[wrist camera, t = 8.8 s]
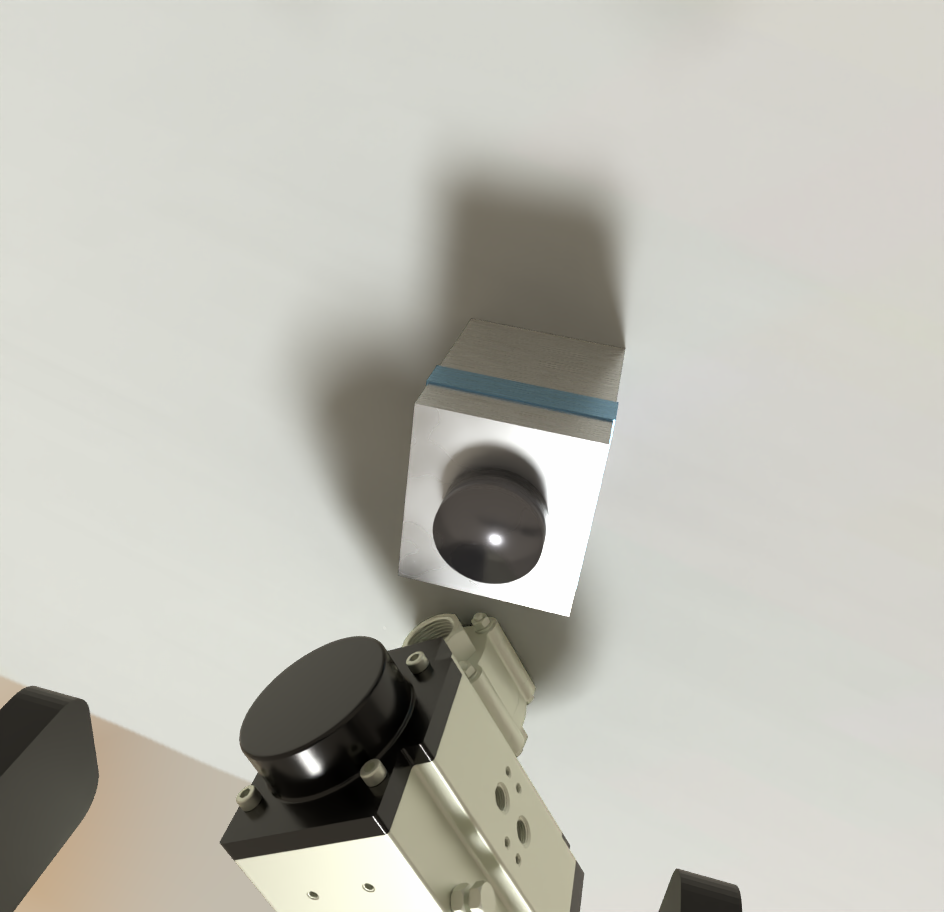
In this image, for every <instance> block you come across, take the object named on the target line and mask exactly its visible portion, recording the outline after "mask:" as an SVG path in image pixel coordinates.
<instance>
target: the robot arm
mask: <svg viewBox="0 0 944 912" xmlns="http://www.w3.org/2000/svg"><path fill="white" fill-rule="evenodd" d="M98 778H99V773H98V765H97V758H96V751H95V745H94V738H93V731H92V725H91V718H90V711H89V707H88V704H87V703H86V702H85V701H84V700H82V699H79V698H76V697H72V696H69V695H65V694H61V693H58V692H54V691H51V690H47V689H44V688H40V687H36V686H29V687H26V688H24V689H22V690H21V691H19V692H18V693H17V694H16V695H14V696H13V697H12V698H11V699H10V700H9V701H8V702H7V703H6V704H5V705H4V706H3V707H2V708H1V709H0V912H13V911H14V910H15V909H16V907H17V906H18V905H19V903H20V902H21V901H22V900H23V898H24V897H25V896H26V894H27V893H28V892H29V890H30V889H31V887H32V886H33V885H34V884H35V882H36V881H37V880H38V878H39V877H40V876H41V874H42V873H43V872H44V870H45V869H46V868H47V866H48V865H49V864H50V862H51V861H52V860H53V858H54V857H55V856H56V854H57V853H58V852H59V850H60V849H61V848H62V847H63V845H64V844H65V842H66V841H67V840H68V838H69V837H70V836H71V834H72V833H73V832H74V831H75V829H76V828H77V827H78V825H79V824H80V823H81V821H82V820H83V818H84V817H85V815H86V813H87V812H88V810H89V808H90V806H91V804H92V801H93V799H94V796H95V793H96V789H97V785H98ZM659 912H742V902H741V895H740V891H739V888H738V886H737V885H734V884H731V883H727V882H723V881H720V880H716V879H713V878H709V877H706V876H702V875H698V874H695V873H691V872H688V871H684V870H681V869H676V870H675V871H674V873H673V875H672V877H671V880H670V883H669V885H668V888H667V891H666V893H665V896H664V899H663V901H662V904H661V907H660V909H659Z"/></svg>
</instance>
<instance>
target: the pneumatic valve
mask: <svg viewBox="0 0 944 912" xmlns="http://www.w3.org/2000/svg"><path fill="white" fill-rule="evenodd" d="M471 622H472V624H473V626H468V627H463V626H462V624H461V623H460V621H459V619H458V618H457V616H456V614H440V615H436V616H434V617H431V618H429V619H427V620H425V621H424V622H422V623H421V624H419V625H418V626H417V627H415V628H414V629H413V630H412V631H411V632H410V633H409V635H408V636H407V637H406V639H405V641H404V643H403V645H402V647H401V648H397V649H394V650H390V651H387V650H386V649H385V647H384V646H383V645H382V643H381V642H379V641H378V640H376V639H374V638H371V637H366V636H354V637H348V638H343V639H340V640H337V641H334V642H331V643H328V644H326V645H324V646H322V647H320V648H318V649H316V650H314V651H312V652H310V653H308V654H307V655H305V656H303V657H302V658H300V659H299V660H297V661H296V662H294V663H293V664H292V665H290V666H289V667H288V668H287V669H285V670H284V671H283V672H282V673H280V674H279V675H278V676H277V677H276V678H275V679H274V680H273V681H272V682H271V683H270V684H269V685H268V686H267V687H266V688H265V689H264V690H263V691H262V693H261V694H260V695H259V696H258V697H257V699H256V700H255V701H254V703H253V704H252V706H251V707H250V709H249V711H248V712H247V714H246V716H245V718H244V720H243V723H242V726H241V730H240V736H239V741H240V747H241V749H242V751H243V753H244V754H245V756H246V757H247V758H248V760H249V761H250V762H251V764H252V765H253V766H254V767H255V769H256V770H257V771H258V773H257V775H256V777H255V779H254V781H253V782H252V784H251V785H249V786H247V787H245V788H244V789H242V790H241V791H240V793H239V794H238V795H237V798H236V801H237V803H238V804H239V808H238V810H237V812H236V813H235V815H234V817H233V819H232V821H231V822H230V824H229V826H228V828H227V830H226V832H225V833H224V835H223V837H222V839H221V841H220V844H221V845H222V846H223V848H224V849H225V850H226V851H227V853H228V854H229V855H230V856H231V857H232V859H233V860H234V861H235V862H236V864H237V865H238V866H239V867H240V868H241V870H242V871H243V872H244V873H245V875H246V876H247V877H248V878H249V879H250V881H252V883H253V884H254V886H255V887H256V888H257V889H258V890H259V892H260V893H261V894H262V895H263V897H264V898H265V899H266V900H267V901H268V903H269V904H270V905H271V906H272V908H273V909H274V910H275V911H276V912H580V905H581V897H582V888H583V879H584V872H583V870H582V869H581V867H580V866H579V864H578V862H577V861H576V859H575V857H574V856H573V854H572V853H571V851H570V844H569V843H568V841H567V840H566V838H565V836H564V835H563V833H562V831H561V830H560V828H559V827H558V825H557V823H556V822H555V820H554V818H553V817H552V815H551V813H550V812H549V810H548V809H547V807H546V805H545V804H544V802H543V800H542V799H541V797H540V795H539V794H538V792H537V791H536V789H535V787H534V786H533V784H532V782H531V781H530V779H529V778H528V776H527V774H526V773H525V771H524V769H523V768H522V766H521V764H520V763H519V761H518V760H517V757H518V756H519V755H520V754H521V753H522V751H523V747H524V745H525V743H526V740H527V738H528V736H527V734H526V732H525V730H524V729H523V727H522V726H523V723H524V720H525V716H526V705H528V704H529V703H531V702H532V700H533V699H534V696H533V694H534V692H535V686H534V684H533V682H532V680H531V679H530V677H529V675H528V673H527V672H526V670H525V668H524V666H523V665H522V663H521V661H520V660H519V658H518V656H517V654H516V653H515V651H514V649H513V647H512V646H511V644H510V642H509V641H508V639H507V637H506V635H505V634H504V632H503V630H502V628H501V627H500V625H499V623H498V622H497V620H496V619H495V618H494V617H487V615H486V614H485V613H476V614H475V615H474V616H473V619H472V620H471Z"/></svg>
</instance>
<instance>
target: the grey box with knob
mask: <svg viewBox="0 0 944 912" xmlns="http://www.w3.org/2000/svg"><path fill="white" fill-rule="evenodd" d="M624 354H625V348H620V347H615V346H609V345H604V344H599V343H594V342H589V341H584V340H579V339H574V338H569V337H564V336H559V335H553V334H548V333H543V332H538V331H533V330H528V329H523V328H518V327H513V326H508V325H503V324H497V323H492V322H487V321H482V320H477V319H472V318H471V320H470V321H469V323H468V324H467V326H466V327H465V329H464V330H463V332H462V333H461V335H460V336H459V338H458V339H457V341H456V342H455V344H454V345H453V347H452V348H451V350H450V351H449V353H448V354H447V356H446V357H445V359H444V360H443V362H442V363H441V365H440V366H439V365H437V366H436V367H435V369H434V370H433V372H432V373H431V375H430V376H429V378H428V379H427V382H426V387H425V389H424V390H423V392H422V393H421V395H420V396H419V398H418V399H417V401H416V402H415V406H414V416H413V426H412V437H411V447H410V457H409V467H408V477H407V488H406V498H405V508H404V518H403V528H402V538H401V549H400V559H399V569H398V576H402V577H406V578H410V579H414V580H419V581H423V582H427V583H431V584H435V585H439V586H443V587H448V588H452V589H456V590H460V591H464V592H468V593H473V594H477V595H481V596H485V597H489V598H493V599H498V600H502V601H506V602H510V603H514V604H518V605H523V606H527V607H531V608H535V609H539V610H543V611H548V612H552V613H556V614H560V615H564V616H568V617H569V614H570V610H571V606H572V602H573V597H574V593H575V590H576V587H577V583H578V579H579V574H580V570H581V566H582V562H583V557H584V553H585V549H586V544H587V540H588V536H589V532H590V527H591V523H592V519H593V515H594V510H595V506H596V502H597V498H598V493H599V489H600V485H601V480H602V476H603V472H604V468H605V463H606V459H607V455H608V451H609V446H610V442H611V438H612V434H613V429H614V425H615V421H616V415H617V409H618V403H619V402H616V401H617V395H618V389H619V383H620V377H621V372H622V366H623V360H624Z"/></svg>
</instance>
